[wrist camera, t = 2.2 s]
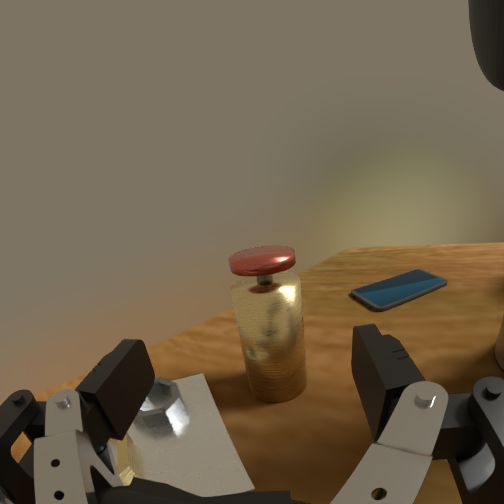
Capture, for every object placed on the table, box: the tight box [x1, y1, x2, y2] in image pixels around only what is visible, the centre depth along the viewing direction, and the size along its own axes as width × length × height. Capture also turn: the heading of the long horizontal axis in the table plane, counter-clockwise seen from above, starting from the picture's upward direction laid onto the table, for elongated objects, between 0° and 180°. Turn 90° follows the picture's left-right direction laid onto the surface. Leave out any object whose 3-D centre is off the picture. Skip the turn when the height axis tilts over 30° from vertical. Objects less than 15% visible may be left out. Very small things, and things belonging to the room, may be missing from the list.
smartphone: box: [351, 269, 447, 312], centre depth 38 cm, size 8×15×1 cm, turn 103°
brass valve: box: [229, 246, 307, 403], centre depth 22 cm, size 5×5×12 cm
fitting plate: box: [108, 373, 256, 497], centre depth 16 cm, size 17×14×2 cm
